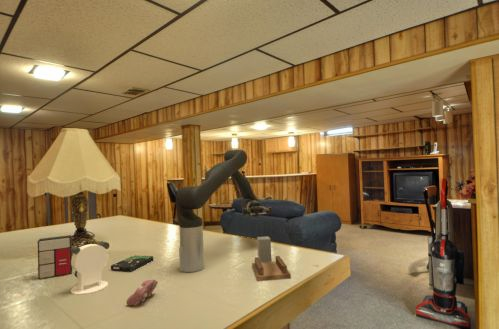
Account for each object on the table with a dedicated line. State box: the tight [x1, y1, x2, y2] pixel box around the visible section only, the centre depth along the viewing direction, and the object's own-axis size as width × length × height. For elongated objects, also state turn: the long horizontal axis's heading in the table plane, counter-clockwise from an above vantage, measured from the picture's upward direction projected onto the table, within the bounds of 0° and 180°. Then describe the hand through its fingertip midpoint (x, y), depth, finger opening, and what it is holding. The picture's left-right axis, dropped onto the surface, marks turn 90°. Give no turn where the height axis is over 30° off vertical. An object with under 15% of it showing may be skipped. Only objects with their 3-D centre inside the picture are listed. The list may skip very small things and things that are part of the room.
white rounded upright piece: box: [70, 240, 110, 296], centre depth 101 cm, size 12×11×15 cm
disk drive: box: [110, 254, 154, 273], centre depth 123 cm, size 10×3×15 cm
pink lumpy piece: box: [126, 278, 159, 307], centre depth 89 cm, size 10×5×7 cm, turn 169°
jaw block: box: [256, 236, 273, 263], centre depth 121 cm, size 5×5×10 cm
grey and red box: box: [37, 234, 73, 280], centre depth 114 cm, size 11×4×15 cm, turn 118°
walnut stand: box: [251, 255, 292, 282], centre depth 108 cm, size 12×15×4 cm
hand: (258, 212), depth 134 cm, fingers open, 8 cm apart
